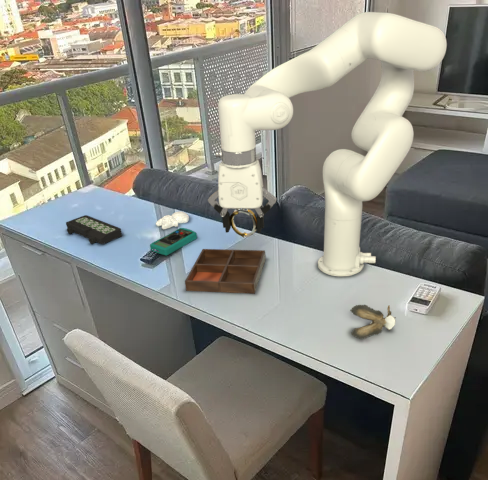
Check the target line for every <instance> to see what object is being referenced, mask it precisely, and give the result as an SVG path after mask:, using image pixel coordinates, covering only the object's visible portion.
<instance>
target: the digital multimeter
mask: <svg viewBox="0 0 488 480" xmlns="http://www.w3.org/2000/svg"><path fill="white" fill-rule="evenodd" d="M197 239H198V234H197V232H196V231H194V230H192V229H189V228H185V227H179V228H178V229H175V230H174V231H172V232H170V233H168V234H166V235H164V236H163V237H160V238H159V239H157V240H155V241H152V242H151V243H149V248H150V251H152V252H154V253H156V254H159V255H162V256H165V257H168V256H169V255H171V254H173V253H175V252H177V251H178V250H180V249H182V248H184V247H185V246H187V245H188V244H191V243H192V242H194V241H196V240H197ZM152 249H156V250H158V251H159V252H157V251H154V250H152Z"/></svg>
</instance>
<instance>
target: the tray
mask: <svg viewBox="0 0 488 480" xmlns="http://www.w3.org/2000/svg"><path fill="white" fill-rule="evenodd" d="M266 260H267V258H266V250H264V249H262V250H259V249H227V248H226V249H225V248H202V249H201V251H200V253H199V255H198V257H197V259H196V260H195V262H194V264H193V266H192V267H191V269H190V271H189V273H188V275H187V277H186V278H185V280H184V285H185V291H187V292H205V293H206V292H207V293H226V294H227V293H229V294H230V293H231V294H249V295H251V294H253V295H254V294H256V292H257V288H258V285H259V282H260V279H261V276H262V272H263V269H264V266H265V263H266Z"/></svg>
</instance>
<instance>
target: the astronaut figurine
mask: <svg viewBox="0 0 488 480" xmlns="http://www.w3.org/2000/svg"><path fill="white" fill-rule="evenodd" d="M189 220H190V217H189V215H188V213H186V212H184V211H181V210H180V211H175V212H173V213H172V214H171V215H170V214H167V215H163V216H162V217H161V218H159V219H158V220H157V221H156V222H155V226H156V227H161V230H167V229H170V228H172V227H175V228H177V227H179V224H186V223H188V222H190V221H189Z"/></svg>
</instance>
